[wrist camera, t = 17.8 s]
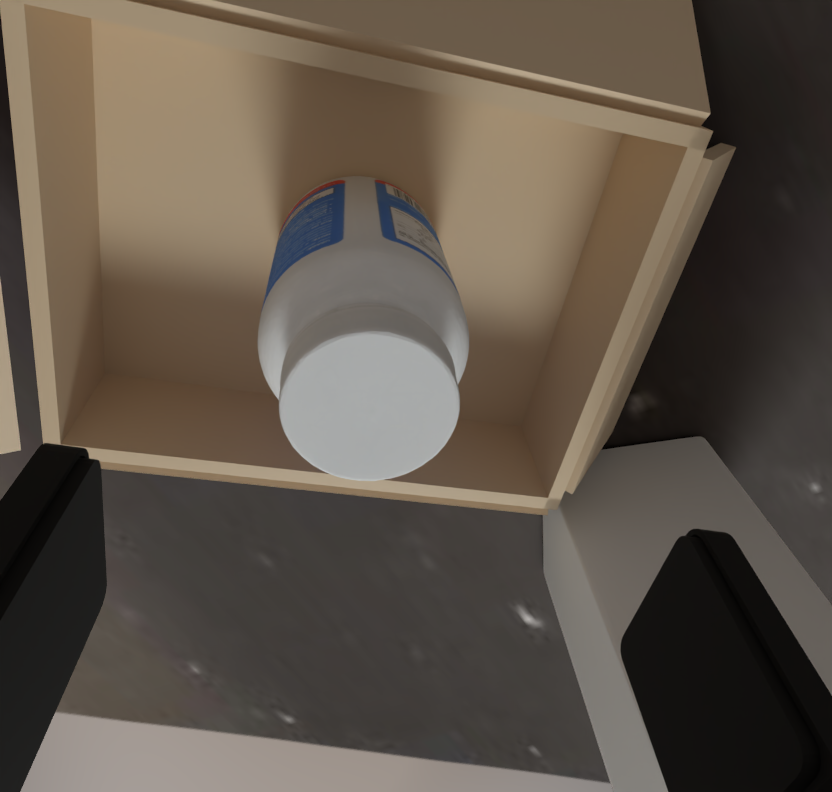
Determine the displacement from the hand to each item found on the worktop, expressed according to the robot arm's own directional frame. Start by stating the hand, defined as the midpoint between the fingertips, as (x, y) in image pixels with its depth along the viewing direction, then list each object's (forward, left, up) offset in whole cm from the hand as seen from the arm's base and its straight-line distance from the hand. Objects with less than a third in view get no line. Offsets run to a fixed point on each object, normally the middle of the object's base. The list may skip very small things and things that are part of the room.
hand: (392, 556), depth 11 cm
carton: (-1, 0, -15) cm, 15 cm away
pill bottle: (0, 0, -14) cm, 14 cm away
